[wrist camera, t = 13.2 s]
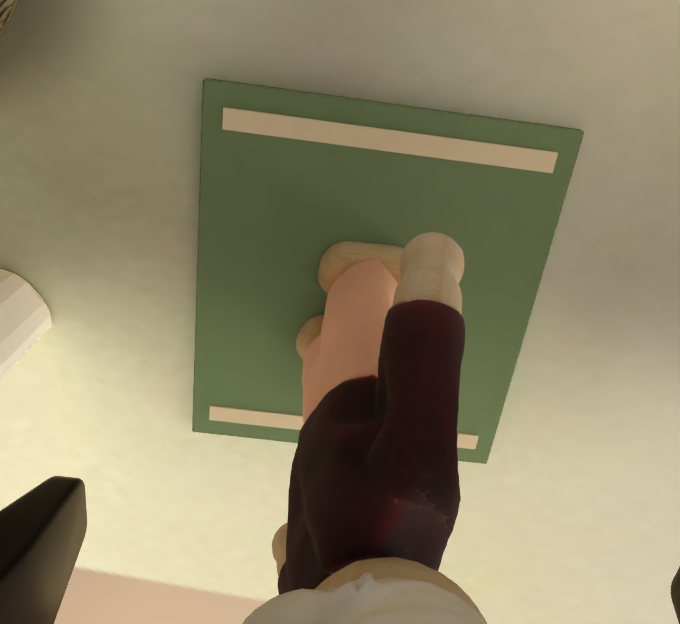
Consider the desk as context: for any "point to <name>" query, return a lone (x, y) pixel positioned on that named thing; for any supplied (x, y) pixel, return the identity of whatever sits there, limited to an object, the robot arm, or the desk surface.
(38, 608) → the robot arm
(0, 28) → the cup
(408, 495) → the grandmother figurine
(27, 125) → the desk surface
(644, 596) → the desk surface
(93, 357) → the desk surface
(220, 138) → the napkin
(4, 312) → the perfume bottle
